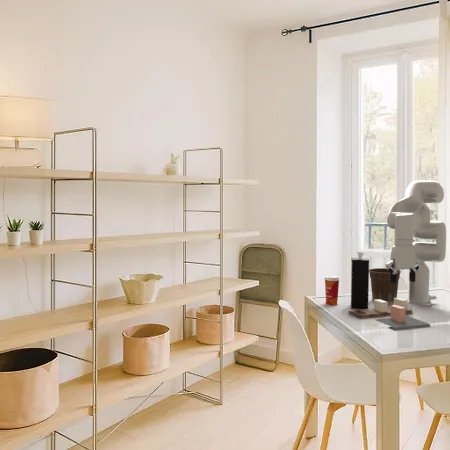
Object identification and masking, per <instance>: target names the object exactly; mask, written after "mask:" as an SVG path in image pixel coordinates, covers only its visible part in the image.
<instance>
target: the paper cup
mask: <svg viewBox="0 0 450 450" xmlns="http://www.w3.org/2000/svg"><path fill="white" fill-rule="evenodd" d="M339 284H340V277H339V276H338V275H325V276H324V289H325V291H324V292H325V304H326V305H327V306H337V305H338V299H339Z"/></svg>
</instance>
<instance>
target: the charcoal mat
mask: <svg viewBox="0 0 450 450" xmlns="http://www.w3.org/2000/svg"><path fill="white" fill-rule="evenodd" d="M374 321H377V322H378V323H382V324H384V325H386V326H387V328H389V329H391V330H393V331H399V330H410V329H420V328H426V327H427V328H429V327H431V324H430V323H428V322H425V321H423V320H419V319H417V318H414V317H411V316H409V315H405V322H398V321H395V320H392V319H390V317H387V318H386V317H384V318H375V319H374Z"/></svg>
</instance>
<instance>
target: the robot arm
mask: <svg viewBox="0 0 450 450" xmlns="http://www.w3.org/2000/svg"><path fill="white" fill-rule="evenodd" d="M444 197H445V191H444V188H443V187H442V185H441V183H440V182H438V181H436V180H414V181H412V182H410V183H409V185H408V187H407V188H406V190H405V196H404V198H402V199H400V200H398V201H396V202H395V203H393V204H392V205H391V207H390V209H389V211H388V213H387V217H386V224H387V227H388V228H390V229H392V230H394V245H392V247H391V251H390V260H389V261H388V262H386V263H385V268H387V270H388V271H389V273H390V282H391V283H394V284H396V280H397V275H396V274H395V273H396V272H397V271H398V270H400V271H403V270H408V277H409V278H408V298H407V300H408V304H411V305H417V306H425V307H430V306H432V305H433V302H432V300H437V295H430V269H429V266H428V265H427V264H426V262H429V263H433V262H434V263H441V262H444V261H445V258H446V253H447V226H446V224H445V223H444V222H443V221H441V220H431V209H430V208H429V206H428V205H427V204H440V203H441V202H443V200H444ZM415 239H416V240H426V241H427V240H428V241H435V242H428V241H427V242H426V241H415Z"/></svg>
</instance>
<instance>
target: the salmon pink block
mask: <svg viewBox="0 0 450 450" xmlns="http://www.w3.org/2000/svg"><path fill="white" fill-rule="evenodd" d="M390 307H391V315H390V316H389V318H390V319H392V320H395V321H398V322H405V316H406V314H405V308H404V307H401V306H398V305H394V304H391V305H390Z"/></svg>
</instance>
